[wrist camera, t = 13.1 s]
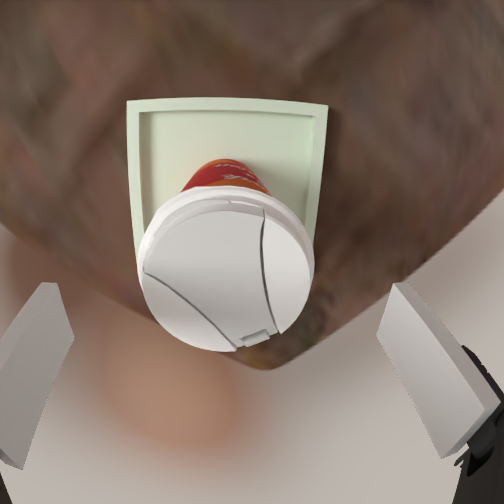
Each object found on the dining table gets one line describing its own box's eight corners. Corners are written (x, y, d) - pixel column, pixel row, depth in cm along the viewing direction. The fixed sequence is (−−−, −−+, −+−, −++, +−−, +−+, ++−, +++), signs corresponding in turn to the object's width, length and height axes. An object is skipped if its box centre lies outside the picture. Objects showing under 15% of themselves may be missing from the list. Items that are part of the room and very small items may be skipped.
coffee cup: (286, 214, 28) (342, 321, 15) (202, 251, 29) (191, 377, 15) (248, 127, 24) (279, 155, 11) (158, 170, 25) (92, 247, 12)
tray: (142, 270, 30) (138, 278, 28) (132, 101, 23) (126, 101, 21) (303, 270, 31) (307, 279, 30) (322, 105, 24) (328, 105, 23)
